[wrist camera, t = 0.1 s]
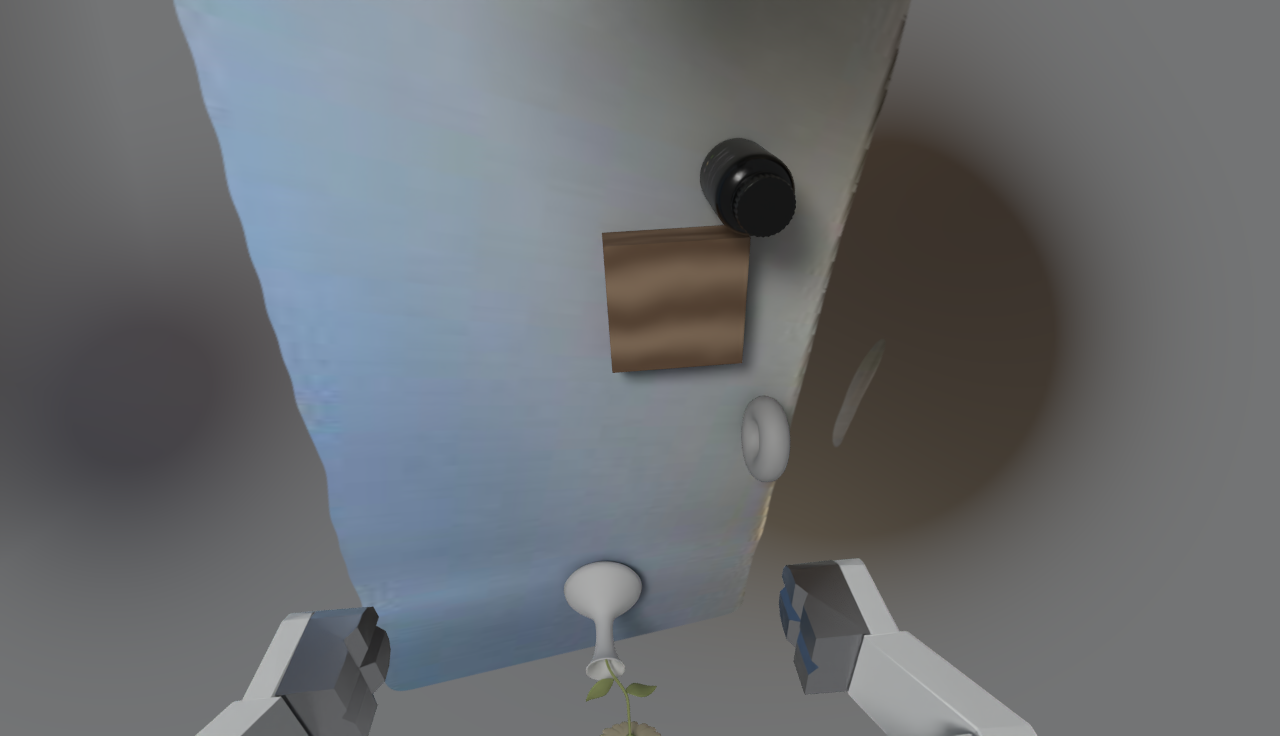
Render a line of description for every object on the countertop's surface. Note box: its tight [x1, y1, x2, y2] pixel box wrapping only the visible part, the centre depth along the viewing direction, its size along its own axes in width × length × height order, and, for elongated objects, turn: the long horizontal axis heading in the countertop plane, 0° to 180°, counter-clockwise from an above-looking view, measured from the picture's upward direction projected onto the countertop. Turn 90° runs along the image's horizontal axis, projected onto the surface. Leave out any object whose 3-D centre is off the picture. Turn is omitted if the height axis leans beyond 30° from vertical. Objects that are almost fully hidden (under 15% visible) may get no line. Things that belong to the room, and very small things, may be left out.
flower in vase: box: [564, 561, 661, 736], centre depth 74 cm, size 13×11×25 cm
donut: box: [741, 396, 790, 482], centre depth 66 cm, size 10×4×10 cm, turn 176°
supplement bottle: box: [700, 138, 796, 237], centre depth 49 cm, size 7×7×12 cm
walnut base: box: [602, 225, 750, 373], centre depth 59 cm, size 14×14×4 cm
